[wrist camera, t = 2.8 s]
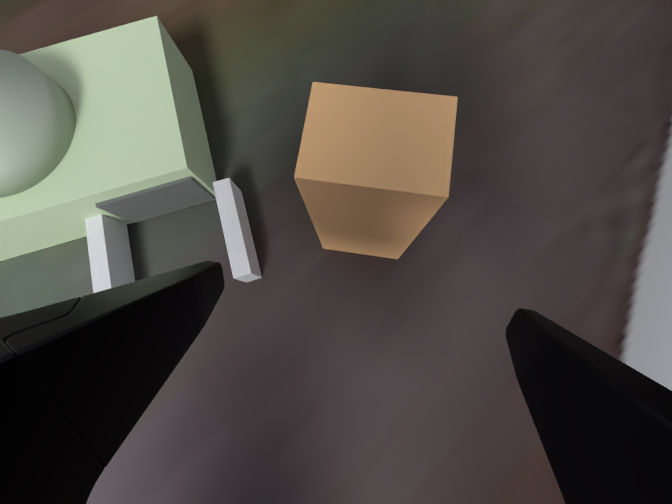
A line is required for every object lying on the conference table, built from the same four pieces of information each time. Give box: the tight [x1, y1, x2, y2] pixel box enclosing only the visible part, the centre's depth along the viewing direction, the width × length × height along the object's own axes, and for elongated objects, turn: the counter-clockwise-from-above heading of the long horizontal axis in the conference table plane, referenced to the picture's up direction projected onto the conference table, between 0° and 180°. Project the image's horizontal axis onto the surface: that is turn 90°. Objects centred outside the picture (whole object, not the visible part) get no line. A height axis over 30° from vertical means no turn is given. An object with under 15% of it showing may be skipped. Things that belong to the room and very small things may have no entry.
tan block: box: [294, 82, 458, 259], centre depth 17 cm, size 4×6×12 cm
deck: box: [0, 16, 262, 293], centre depth 21 cm, size 19×24×7 cm
